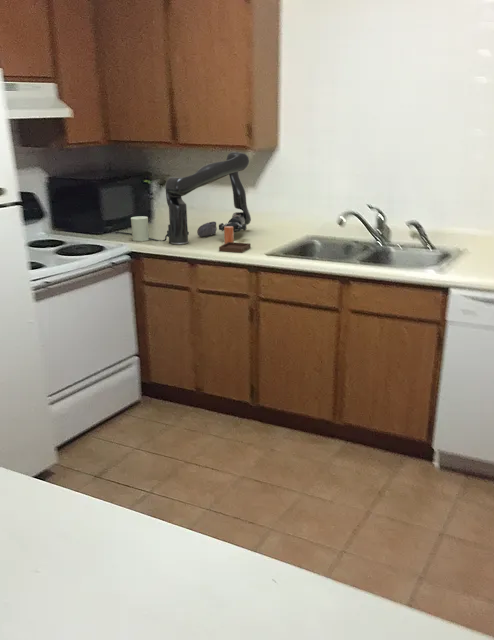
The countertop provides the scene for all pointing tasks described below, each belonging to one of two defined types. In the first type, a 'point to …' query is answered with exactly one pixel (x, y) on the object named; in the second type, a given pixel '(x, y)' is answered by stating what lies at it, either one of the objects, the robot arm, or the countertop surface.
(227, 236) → the orange block
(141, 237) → the can
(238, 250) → the stand
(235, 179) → the robot arm
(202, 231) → the perforated stone tool
